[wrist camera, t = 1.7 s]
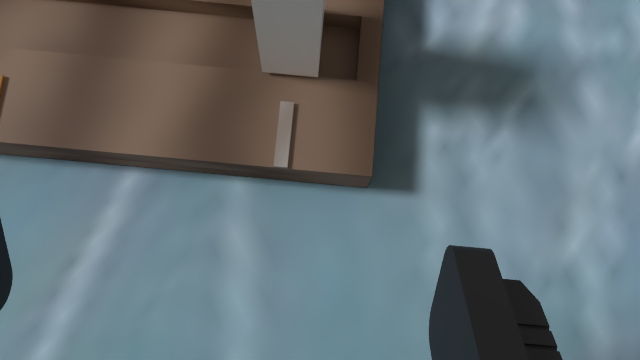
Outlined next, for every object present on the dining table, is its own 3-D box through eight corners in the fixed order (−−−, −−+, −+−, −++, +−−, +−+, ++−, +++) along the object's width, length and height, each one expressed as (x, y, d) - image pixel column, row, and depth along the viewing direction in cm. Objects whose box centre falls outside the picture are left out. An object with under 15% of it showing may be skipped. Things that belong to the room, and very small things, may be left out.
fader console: (382, -38, 31) (389, -67, 29) (366, 187, 28) (372, 175, 26) (-102, -84, 31) (-134, -117, 29) (-166, 138, 28) (-208, 121, 26)
